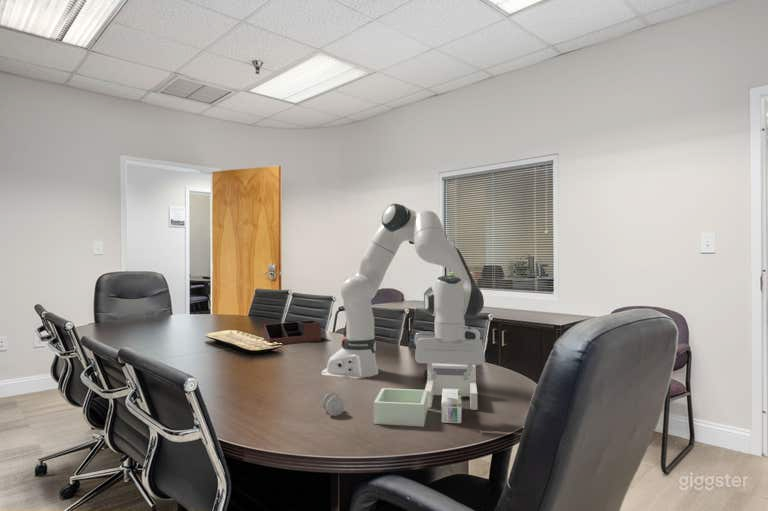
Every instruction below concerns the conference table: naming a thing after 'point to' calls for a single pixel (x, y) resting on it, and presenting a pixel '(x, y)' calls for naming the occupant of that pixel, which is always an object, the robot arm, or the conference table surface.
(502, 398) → the conference table surface
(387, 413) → the tray
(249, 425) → the conference table surface
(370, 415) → the conference table surface
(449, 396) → the syrup box
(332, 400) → the twin embossed discs
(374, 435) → the conference table surface
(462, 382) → the bay
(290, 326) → the desk organizer
